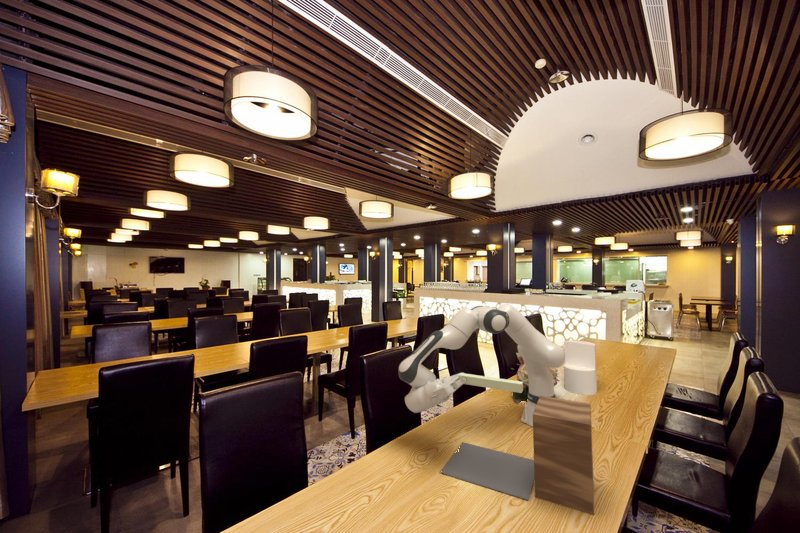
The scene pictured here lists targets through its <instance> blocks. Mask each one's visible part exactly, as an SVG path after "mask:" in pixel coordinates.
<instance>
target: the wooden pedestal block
mask: <svg viewBox="0 0 800 533" xmlns="http://www.w3.org/2000/svg"><path fill="white" fill-rule="evenodd" d="M591 406H592V405H591V403H589V402H582V401H577V400H569V399H563V398H559V397H558V398H557V397H556V398H552V397H545V396H540V397H539V400H538V402H537V405H536V407H535V409H534V412H533V427H532V438H533V460H534V477H535V479H534V498H537V499H540V500H544V501H547V502H550V503H554V504H556V505H559V506H563V507H566V508H570V509H572V510H576V511H579V512H582V513H586V514H589V515H593V516H594V515H595V503H594V502H595V500H594V496H595V495H594V492H595V491H594V488H595V487H594V486H595V485H594V457H593V456H594V454H593V433H592V432H593V431H592V407H591Z"/></svg>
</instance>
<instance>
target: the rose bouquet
mask: <svg viewBox="0 0 800 533" xmlns="http://www.w3.org/2000/svg"><path fill="white" fill-rule="evenodd" d="M515 354H516V356H517V359H518V362H519V363H516V366H519V368H517V369H518V370H517V372H516V381H520V382H523V392H522V393H518V392H512V393H513V396H512V398H513V400H514V402H516V404H518V403H520V402H521V401H526V402H527V399H528V391H529V382H528V373H527V369H526V366H525V363H524V361H523V358H522V357H521V355H520V354H519V352H515ZM547 368H548V370H549V372H550V373H551V374H552V376H553V379H554V387H556V386H557V385H558V382H560V379H558V378H559V376H560V375H559V373H558V372H559V370H558V368H552V367H547ZM510 369H511V370H512V371H514V370H515V368H513V367H510Z"/></svg>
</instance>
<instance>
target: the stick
mask: <svg viewBox="0 0 800 533" xmlns="http://www.w3.org/2000/svg"><path fill="white" fill-rule="evenodd" d="M459 373H460V374H459ZM459 373H458V374H459V375H458V380H460V379H462V378H464V377H465V378H466V379H467V382H466V383H464V384H463V385H468V386H469V385H470V386H475V387H481V388H487V389H493V390H494V389H495V390H501V391H506V392H510V391H512V392H511V393H513V392H518V393H522V392H523V382H520V381H518V380H512V379H506V378H497V377H492V376H491V377H490V376H486V375H477V374H472V373H465V372H459Z"/></svg>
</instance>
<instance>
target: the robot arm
mask: <svg viewBox="0 0 800 533" xmlns="http://www.w3.org/2000/svg"><path fill="white" fill-rule="evenodd" d="M477 329H479V330H480V331H481V332H482V331H483V332H486V333H490V334H493V335H496V334H501V333H502V332H504V331H505V333H506V334H507V335H508V336H509V337H510V338H511V339H512V340H513V341H514V343H516V345H517V346H516V347H517V348H516V349H517V353H519V354H520V355H521V357H522V358H523V361H524V363H525V366H526V369H527V373H528V382H529V391H528V401H526V402H527V403H526V404H525V403H524V404H522V405H523V407H522V408H523V411H522V414H521V418H520V422H521V423H525V424H527V425H529V426H530V427H531V428H533V412H534V409H535V407H536V405H537V402H538V400H539V397H540V396H545V397H552V398H557V397H556V394H555V386H554V379H553V376H552V374H551V373H550V372H549V370H548V368H547V367H552V368H556V369H558V368H560V367H563V366H564V364H565V349H563V348H562V347H561V346H559V345H557V344H555V343H554V342H553V341H551V340H550V339H549V338H548V337H547V336H545V335H544V334H543V333H542V332H540V331H539V330H537V329H536V328H535V327H534V326H533V324H532V323H531V322H530V321H529V320H528V318H526V317H525V316H524V315H523V313H522V312H520V311H519V310H518V309H517V308H515V307H514V306H513V305H512V304H511V303H510V304H509V303H504V304H501V305H499V306H498V307H497V308H494V307H489V306H483V305H477V306H474V307H471V309H470V308H468V307H462V308H461V309H459V310H458V311H457V312H456V313H455V314H454V315H453V316H452V317H451V319H450V320H449V321H447V324H446V325H445V326H444V327H443V328H441V329H440V330H435V331H433V332H432V333H431V334H430V335H429V336H428V337H427V338H426V339H424V340H423V341H422V342H421V343H420V344H419V345H418V347H417V348H416V349H414V350H413V352H412V353H410V355H408V356H407V357H405V358H404V359H403V360H401V362H400V363H399V365H398V368H397V369H398V370H397V371H398V373H397V374H398V378H399V379H400V380H401V381H402V382H404V383H407V384H408V385H410V386H411V389H410V391H409V392H408V394H406V395H405V396H404V402H405V405H406V407H407V409H408V410H409V411H411V412H413V413H414V414H417V413H421V412H422V413H423V412H424V411H427V410H429V409H431V408H432V407H434V406H438V405H441V404H443V403H445V402H448V401H449V399H450V397H451V395H452V394H453V393H455V392H456V391H457V390H458V389H459V388H461V387H462V386H463V385H465V384H464V383H466V382H467V379H466V378H465V377H464V378H462V379H460V380H458V375H459V374H460V373H461V372H459V373H456V374H453V375H451V376H445V377H442V378H437V376H436V375H435V373H434V372H433V371H432V370H430V369H429V368H427V367H425V366H424V365H423V364H422V363H423V362H424V361H425V360H426V359H427V357H429V356H430V354H432V352H433V351H435V350H436V349H439V348H440V349H441V348H443V349H446V350H448V349H449V350H458V349H461V348H462V347H463V346H465V344H466V343H467V342H468V340H469V339H470V337H471V336H472V334H473V333H474V332H475V331H476V330H477Z"/></svg>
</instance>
